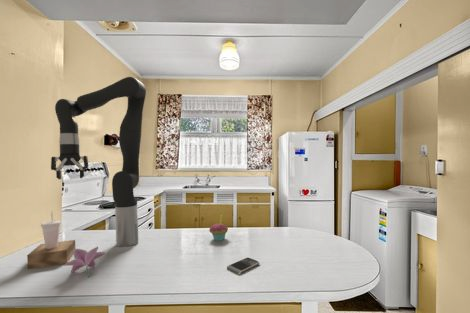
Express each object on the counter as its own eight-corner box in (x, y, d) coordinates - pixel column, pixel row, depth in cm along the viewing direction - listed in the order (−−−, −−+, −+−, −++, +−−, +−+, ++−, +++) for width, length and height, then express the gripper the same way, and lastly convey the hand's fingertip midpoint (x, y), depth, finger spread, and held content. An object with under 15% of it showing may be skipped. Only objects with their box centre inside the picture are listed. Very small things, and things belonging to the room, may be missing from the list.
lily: (113, 269, 89) (107, 243, 92) (101, 270, 78) (94, 241, 81) (78, 284, 85) (72, 257, 88) (60, 288, 75) (54, 257, 78)
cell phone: (260, 265, 87) (260, 261, 87) (238, 276, 79) (238, 272, 79) (248, 260, 91) (248, 256, 91) (225, 270, 84) (225, 266, 84)
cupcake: (231, 237, 116) (230, 212, 116) (221, 243, 109) (220, 216, 108) (216, 235, 120) (216, 210, 120) (205, 240, 113) (205, 214, 113)
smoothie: (50, 250, 92) (49, 213, 92) (36, 249, 93) (35, 212, 93) (65, 244, 98) (64, 209, 98) (52, 243, 99) (51, 209, 99)
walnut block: (75, 251, 103) (75, 239, 103) (66, 263, 92) (66, 249, 92) (41, 256, 99) (40, 244, 99) (27, 269, 88) (27, 255, 88)
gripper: (88, 143, 119) (89, 177, 119) (54, 144, 114) (55, 179, 114) (85, 143, 112) (86, 178, 112) (48, 143, 107) (49, 180, 107)
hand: (70, 178), depth 113 cm, fingers open, 8 cm apart
